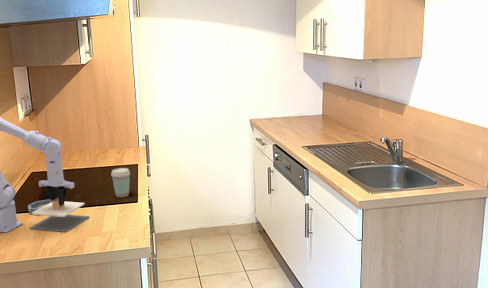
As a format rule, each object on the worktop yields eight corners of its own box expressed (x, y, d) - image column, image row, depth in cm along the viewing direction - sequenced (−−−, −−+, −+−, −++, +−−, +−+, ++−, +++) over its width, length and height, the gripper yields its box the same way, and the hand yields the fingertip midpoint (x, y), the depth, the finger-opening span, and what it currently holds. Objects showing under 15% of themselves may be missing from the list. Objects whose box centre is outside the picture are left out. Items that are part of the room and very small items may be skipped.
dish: (48, 215, 207) (47, 210, 207) (23, 213, 210) (22, 208, 210) (65, 206, 218) (64, 200, 218) (41, 204, 221) (40, 199, 221)
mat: (66, 232, 189) (65, 231, 189) (29, 228, 193) (29, 227, 193) (89, 217, 204) (89, 216, 204) (55, 214, 208) (55, 213, 208)
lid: (63, 217, 189) (62, 206, 188) (31, 214, 193) (30, 204, 192) (84, 204, 202) (83, 194, 201) (54, 202, 206) (53, 192, 205)
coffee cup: (124, 191, 238) (122, 166, 235) (135, 194, 232) (133, 169, 230) (108, 196, 231) (106, 170, 229) (120, 199, 226) (118, 173, 223)
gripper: (77, 169, 196) (80, 202, 199) (45, 167, 200) (48, 200, 203) (66, 174, 190) (70, 208, 192) (33, 172, 193) (37, 206, 196)
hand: (58, 204), depth 197 cm, fingers closed on lid, 2 cm apart
